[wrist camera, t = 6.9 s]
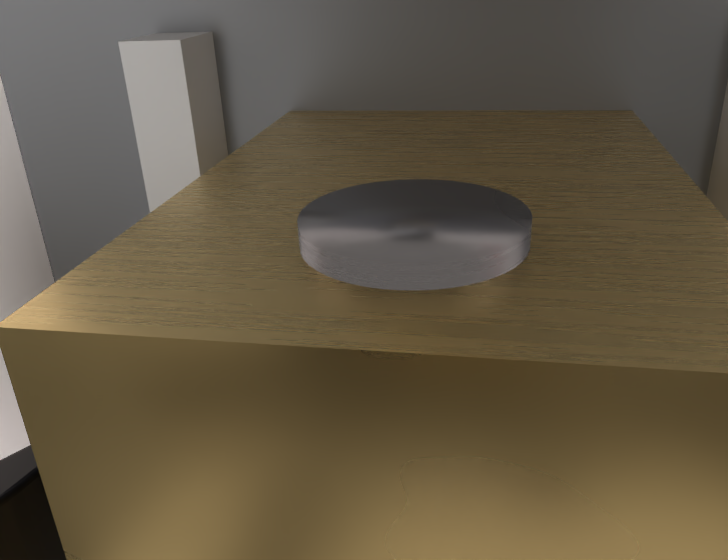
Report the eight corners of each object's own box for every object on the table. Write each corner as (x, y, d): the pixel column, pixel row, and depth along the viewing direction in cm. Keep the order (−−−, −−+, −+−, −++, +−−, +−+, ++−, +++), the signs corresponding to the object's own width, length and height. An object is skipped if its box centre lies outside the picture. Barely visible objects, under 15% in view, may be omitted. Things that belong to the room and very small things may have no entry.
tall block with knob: (288, 96, 9) (-16, 294, 4) (635, 93, 8) (878, 342, 3) (326, 552, 13) (200, 988, 7) (570, 581, 12) (627, 1092, 6)
